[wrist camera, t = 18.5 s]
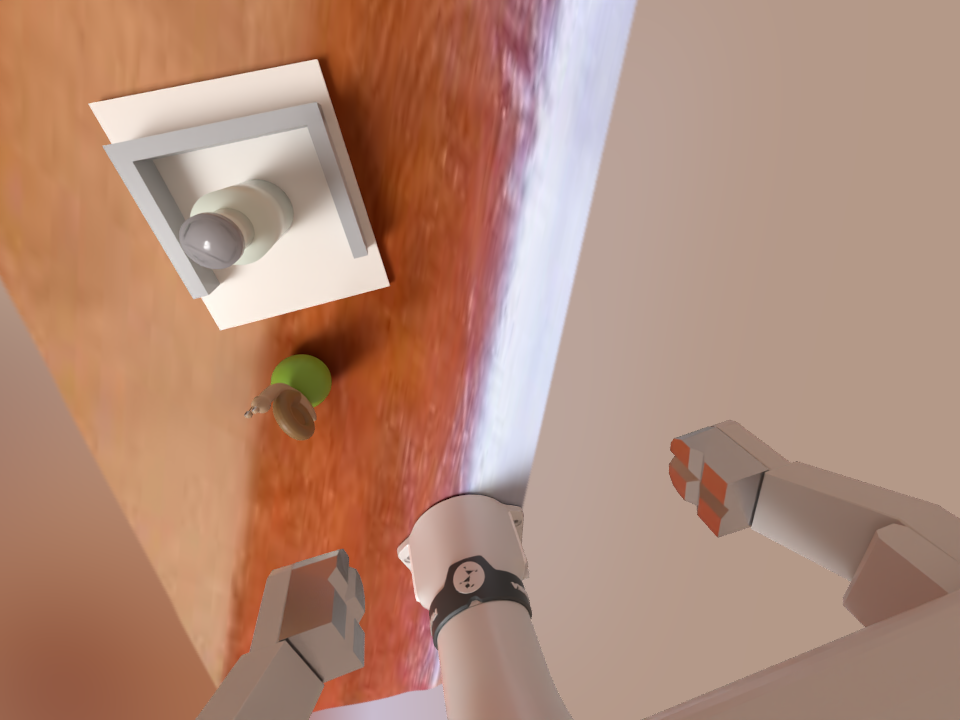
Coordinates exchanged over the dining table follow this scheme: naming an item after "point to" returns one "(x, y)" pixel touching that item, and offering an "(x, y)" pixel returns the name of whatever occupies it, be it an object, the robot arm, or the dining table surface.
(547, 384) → the dining table surface
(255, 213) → the pale green bottle
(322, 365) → the snail figurine
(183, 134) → the u stand
